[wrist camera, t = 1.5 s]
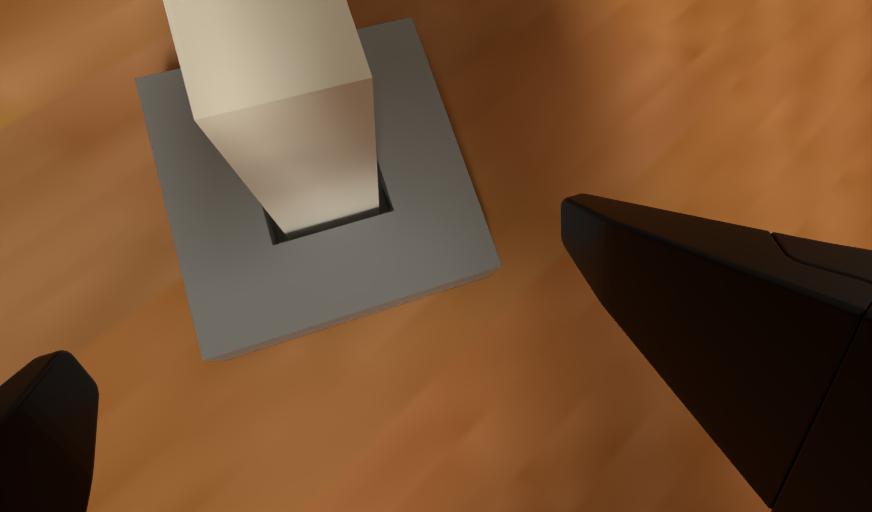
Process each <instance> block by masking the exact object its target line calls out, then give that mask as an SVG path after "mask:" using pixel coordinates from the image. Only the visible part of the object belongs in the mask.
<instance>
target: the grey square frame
mask: <svg viewBox="0 0 872 512" xmlns="http://www.w3.org/2000/svg"><path fill="white" fill-rule="evenodd" d="M356 30H357V33H358V36H359V39H360V42H361V45H362V48H363V51H364V54H365V57H366V60H367V63H368V66H369V69H370V72H371V75H372V79H373V98H374V117H375V137H376V156H377V175H378V195H379V214H380V215H377V216H374V217H370V218H367V219H363V220H360V221H356V222H353V223H349V224H346V225H342V226H339V227H335V228H332V229H328V230H325V231H322V232H318V233H315V234H311V235H308V236H304V237H301V238H297V239H294V240H289V238H288V237H287V236H286V235H285V233H284V232H283V231H282V230H281V228H280V227H279V226H278V225H277V223H276V222H275V221H274V220H273V218H272V217H271V216H270V215H269V213H268V212H267V211H266V210H265V208H264V207H263V206H262V205H261V203H260V202H259V201H258V200H257V198H256V197H255V196H254V195H253V193H252V192H251V191H250V190H249V188H248V187H247V186H246V185H245V183H244V182H243V181H242V180H241V178H240V177H239V176H238V175H237V173H236V172H235V171H234V170H233V168H232V167H231V166H230V165H229V163H228V162H227V161H226V159H225V158H224V157H223V156H222V154H221V153H220V152H219V151H218V149H217V148H216V147H215V146H214V144H213V143H212V142H211V141H210V139H209V138H208V137H207V136H206V134H205V133H204V132H203V131H202V129H201V128H200V127H199V126H198V124H197V123H196V122H195V121H194V118H193V114H192V110H191V106H190V102H189V99H188V95H187V91H186V87H185V83H184V79H183V75H182V71H181V68H179V69H175V70H170V71H166V72H161V73H157V74H152V75H148V76H143V77H139V78H135V80H136V85H137V89H138V93H139V97H140V101H141V106H142V110H143V114H144V118H145V122H146V126H147V131H148V135H149V139H150V143H151V147H152V151H153V156H154V160H155V164H156V168H157V172H158V177H159V181H160V185H161V189H162V193H163V197H164V202H165V206H166V210H167V214H168V218H169V222H170V227H171V231H172V235H173V239H174V243H175V247H176V252H177V256H178V260H179V264H180V268H181V273H182V277H183V281H184V285H185V289H186V293H187V298H188V302H189V306H190V310H191V314H192V318H193V323H194V327H195V331H196V335H197V339H198V344H199V348H200V352H201V356H202V360H203V361H226V360H229V359H232V358H235V357H238V356H241V355H244V354H247V353H251V352H254V351H257V350H260V349H263V348H266V347H269V346H272V345H276V344H279V343H282V342H285V341H288V340H291V339H294V338H297V337H301V336H304V335H307V334H310V333H313V332H316V331H319V330H322V329H326V328H329V327H332V326H335V325H338V324H341V323H344V322H347V321H351V320H354V319H357V318H360V317H363V316H366V315H369V314H372V313H376V312H379V311H382V310H385V309H388V308H391V307H394V306H397V305H401V304H404V303H407V302H410V301H413V300H416V299H419V298H422V297H426V296H429V295H432V294H435V293H438V292H441V291H444V290H447V289H451V288H454V287H457V286H460V285H463V284H466V283H469V282H472V281H476V280H479V279H482V278H485V277H488V276H490V275H491V274H492V273H494V272H495V271H496V270H497V269H498V268H500V267H501V266H502V264H501V262H500V259H499V256H498V253H497V251H496V248H495V245H494V242H493V240H492V237H491V234H490V231H489V229H488V226H487V223H486V220H485V217H484V215H483V212H482V209H481V206H480V204H479V201H478V198H477V195H476V193H475V190H474V187H473V184H472V182H471V179H470V176H469V173H468V171H467V168H466V165H465V162H464V159H463V157H462V154H461V151H460V148H459V146H458V143H457V140H456V137H455V135H454V132H453V129H452V126H451V124H450V121H449V118H448V115H447V113H446V110H445V107H444V104H443V101H442V99H441V96H440V93H439V90H438V88H437V85H436V82H435V79H434V77H433V74H432V71H431V68H430V66H429V63H428V60H427V57H426V54H425V52H424V49H423V46H422V43H421V41H420V38H419V35H418V32H417V30H416V27H415V24H414V21H413V19H412V17H409V18H404V19H400V20H395V21H391V22H386V23H382V24H377V25H373V26H368V27H364V28H359V29H356Z"/></svg>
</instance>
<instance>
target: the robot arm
mask: <svg viewBox="0 0 872 512" xmlns="http://www.w3.org/2000/svg"><path fill="white" fill-rule="evenodd" d="M561 238H562V242H563V244H564V246H565V248H566V250H567V251H568V253H569V254H570V256H571V258H572V259H573V261H574V262H575V264H576V265H577V267H578V269H579V270H580V272H581V273H582V275H583V276H584V278H585V279H586V281H587V283H588V284H589V286H590V287H591V289H592V290H593V292H594V294H595V295H596V296H597V298H598V299H599V301H600V302H601V304H602V305H603V306H604V308H605V309H606V310H607V311H608V313H609V314H610V315H611V316H612V318H613V319H614V320H615V321H616V322H617V324H618V325H619V326H620V327H621V328H622V330H623V331H624V332H625V333H626V335H627V336H628V337H629V338H630V339H631V341H632V342H633V343H634V344H635V346H636V347H637V348H638V349H639V350H640V352H641V353H642V354H643V355H644V357H645V358H646V359H647V360H648V361H649V363H650V364H651V365H652V366H653V368H654V369H655V370H656V371H657V372H658V374H659V375H660V376H661V377H662V378H663V380H664V381H665V382H666V383H667V385H668V386H669V387H670V388H671V389H672V391H673V392H674V393H675V394H676V396H677V397H678V398H679V399H680V400H681V402H682V403H683V404H684V405H685V407H686V408H687V409H688V410H689V411H690V413H691V414H692V415H693V416H694V417H695V419H696V420H697V421H698V422H699V424H700V425H701V426H702V427H703V428H704V430H705V431H706V432H707V433H708V435H709V436H710V437H711V438H712V439H713V441H714V442H715V443H716V444H717V446H718V447H719V448H720V449H721V450H722V452H723V453H724V454H725V455H726V456H727V458H728V459H729V460H730V461H731V463H732V464H733V465H734V466H735V467H736V469H737V470H738V471H739V472H740V474H741V475H742V476H743V477H744V478H745V480H746V481H747V482H748V483H749V485H750V486H751V487H752V488H753V489H754V491H755V492H756V493H757V494H758V496H759V497H760V498H761V499H762V500H763V502H764V503H765V504H766V505H767V506H768V508H770V509H772V510H771V511H772V512H872V250H868V249H862V248H856V247H850V246H844V245H838V244H832V243H827V242H821V241H816V240H811V239H806V238H800V237H795V236H790V235H786V234H781V233H776V232H773V233H771V234H770V232H769V231H765V230H761V229H756V228H751V227H746V226H741V225H736V224H731V223H726V222H721V221H716V220H711V219H707V218H702V217H697V216H692V215H687V214H682V213H677V212H672V211H667V210H662V209H658V208H653V207H648V206H643V205H638V204H633V203H628V202H623V201H618V200H613V199H608V198H604V197H599V196H594V195H589V194H578V195H574V196H571V197H568V198H565V199H564V200H563V201H562V204H561ZM98 402H99V392H98V387H97V385H96V383H95V381H94V380H93V379H92V377H91V376H90V375H89V374H88V373H87V371H86V370H85V369H84V368H83V367H82V366H81V364H80V363H79V362H78V361H77V360H76V358H75V357H74V356H73V355H72V354H71V353H69V352H68V351H63V350H60V351H56V352H53V353H49V354H46V355H43V356H39V357H37V358H35V359H33V360H32V361H31V362H29V363H28V364H27V365H26V366H24V367H23V368H22V369H21V370H20V371H18V372H17V373H16V374H15V375H13V376H12V377H11V378H10V379H8V380H7V381H6V382H5V383H3V384H2V385H1V386H0V512H86V511H87V506H88V501H89V496H90V490H91V484H92V478H93V469H94V459H95V444H96V430H97V416H98Z"/></svg>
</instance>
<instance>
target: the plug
mask: <svg viewBox="0 0 872 512" xmlns="http://www.w3.org/2000/svg"><path fill="white" fill-rule="evenodd" d="M163 2H164V6H165V10H166V14H167V17H168V21H169V25H170V29H171V33H172V37H173V41H174V44H175V48H176V52H177V56H178V60H179V64H180V68H181V71H182V75H183V79H184V83H185V87H186V91H187V95H188V99H189V102H190V106H191V110H192V114H193V118H194V121H195V122H196V123H197V124H198V126H199V127H200V128H201V129H202V131H203V132H204V133H205V134H206V136H207V137H208V138H209V139H210V141H211V142H212V143H213V144H214V146H215V147H216V148H217V149H218V151H219V152H220V153H221V154H222V156H223V157H224V158H225V159H226V161H227V162H228V163H229V165H230V166H231V167H232V168H233V170H234V171H235V172H236V173H237V175H238V176H239V177H240V178H241V180H242V181H243V182H244V183H245V185H246V186H247V187H248V188H249V190H250V191H251V192H252V193H253V195H254V196H255V197H256V198H257V200H258V201H259V202H260V203H261V205H262V206H263V207H264V208H265V210H266V211H267V212H268V213H269V215H270V216H271V217H272V218H273V220H274V221H275V222H276V223H277V225H278V226H279V227H280V228H281V230H282V231H283V232H284V233H285V235H286V236H287V237H288V238H289V240H294V239H297V238H301V237H304V236H308V235H311V234H315V233H318V232H322V231H325V230H328V229H332V228H335V227H339V226H342V225H346V224H349V223H353V222H356V221H360V220H363V219H367V218H370V217H374V216H377V215H380V214H379V195H378V175H377V156H376V137H375V117H374V98H373V79H372V75H371V72H370V69H369V66H368V63H367V60H366V57H365V54H364V51H363V48H362V45H361V42H360V39H359V36H358V33H357V30H356V27H355V24H354V21H353V18H352V15H351V12H350V9H349V6H348V3H347V0H163Z"/></svg>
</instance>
